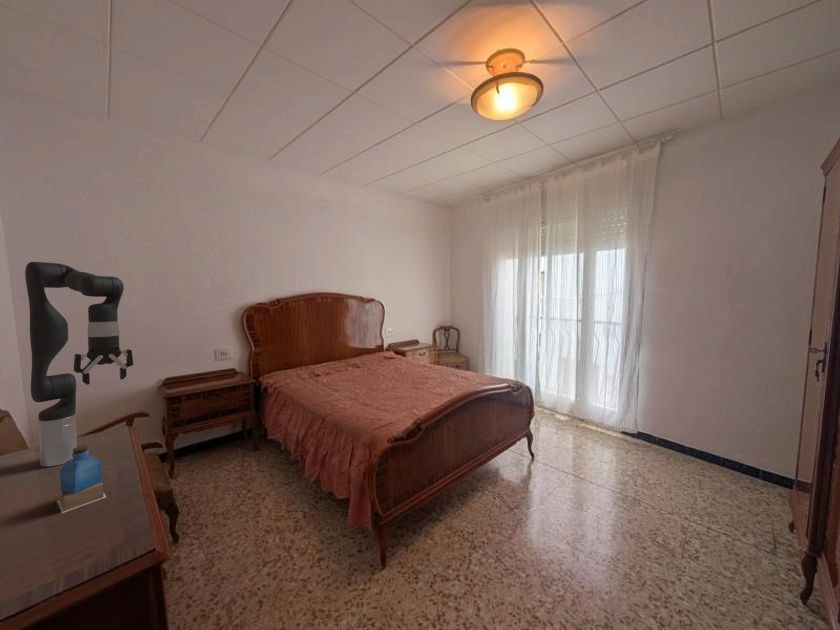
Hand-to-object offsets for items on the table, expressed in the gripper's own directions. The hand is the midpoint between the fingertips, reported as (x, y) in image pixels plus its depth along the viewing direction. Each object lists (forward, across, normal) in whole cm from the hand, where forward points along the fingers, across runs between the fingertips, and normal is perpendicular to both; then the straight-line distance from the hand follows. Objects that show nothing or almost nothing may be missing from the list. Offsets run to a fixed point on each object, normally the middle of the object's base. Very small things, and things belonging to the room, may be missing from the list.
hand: (105, 381), depth 108 cm
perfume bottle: (+29, +8, +12) cm, 32 cm away
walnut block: (+33, +8, +12) cm, 36 cm away
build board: (+34, +8, +12) cm, 37 cm away
